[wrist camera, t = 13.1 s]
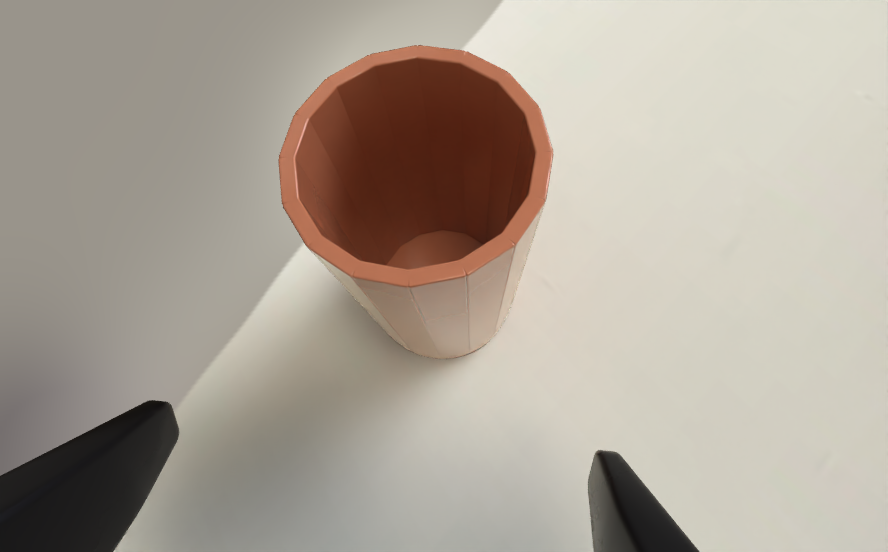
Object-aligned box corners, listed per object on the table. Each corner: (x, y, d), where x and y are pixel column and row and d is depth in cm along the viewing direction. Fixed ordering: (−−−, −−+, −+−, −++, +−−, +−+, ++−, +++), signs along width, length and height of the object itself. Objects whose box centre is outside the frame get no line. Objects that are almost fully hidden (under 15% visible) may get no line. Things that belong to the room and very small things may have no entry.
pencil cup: (498, 372, 22) (528, 310, 10) (361, 344, 23) (241, 256, 11) (520, 241, 24) (568, 62, 12) (394, 219, 25) (323, 32, 13)
